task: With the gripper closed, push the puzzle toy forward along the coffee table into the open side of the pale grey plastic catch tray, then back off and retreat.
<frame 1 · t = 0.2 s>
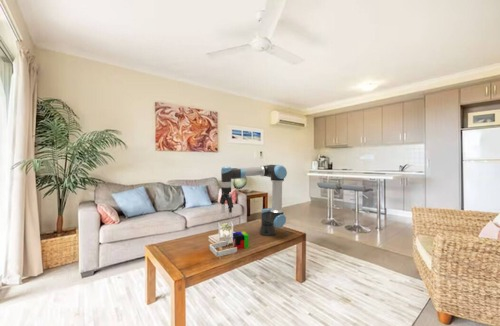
hand: (226, 214, 167), 28 cm above the table, fingers open, 13 cm apart
catch tray: (223, 250, 167), on the table
puzzle toy: (240, 246, 174), on the table
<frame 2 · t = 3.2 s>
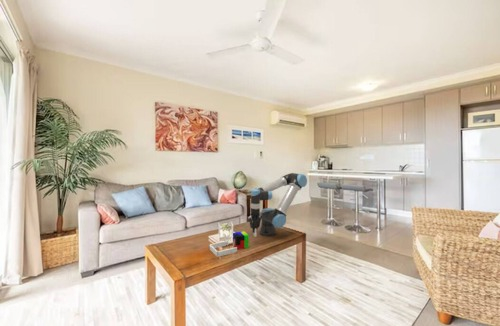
hand: (254, 236, 181), 6 cm above the table, fingers closed
nothing on the table moved.
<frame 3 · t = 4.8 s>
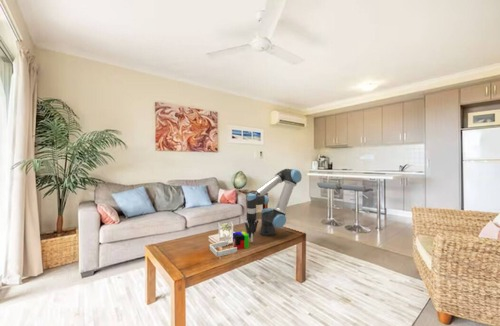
hand: (251, 241, 180), 2 cm above the table, fingers closed
nothing on the table moved.
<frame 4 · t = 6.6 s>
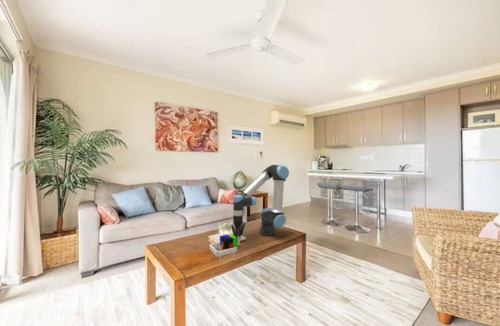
hand: (237, 244, 173), 2 cm above the table, fingers closed
puzzle toy: (228, 249, 168), on the table, touching hand
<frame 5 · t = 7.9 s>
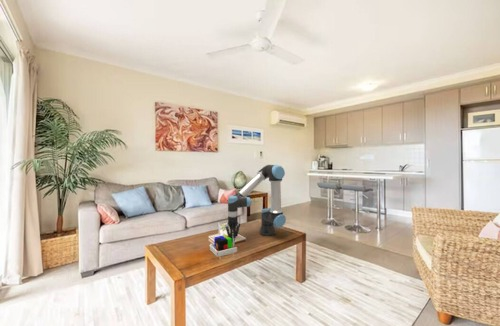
hand: (232, 245, 171), 2 cm above the table, fingers closed
puzzle toy: (223, 251, 166), on the table, touching hand
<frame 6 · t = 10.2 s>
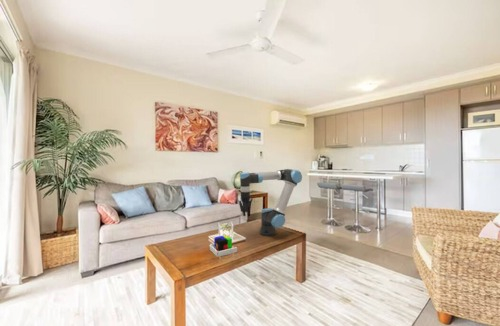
hand: (245, 219, 178), 20 cm above the table, fingers closed
puzzle toy: (223, 251, 166), on the table
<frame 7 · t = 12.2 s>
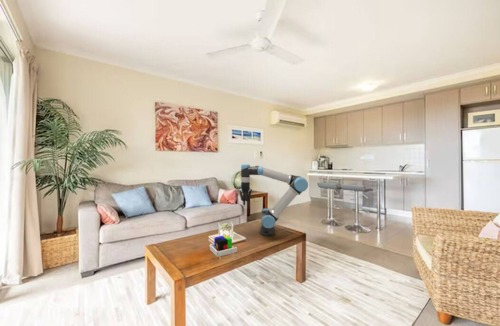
hand: (245, 208, 191), 26 cm above the table, fingers closed
nothing on the table moved.
at the end: puzzle toy inside the target area (0.8 cm from its centre), on the table; puzzle toy moved 15.7 cm from its start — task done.
